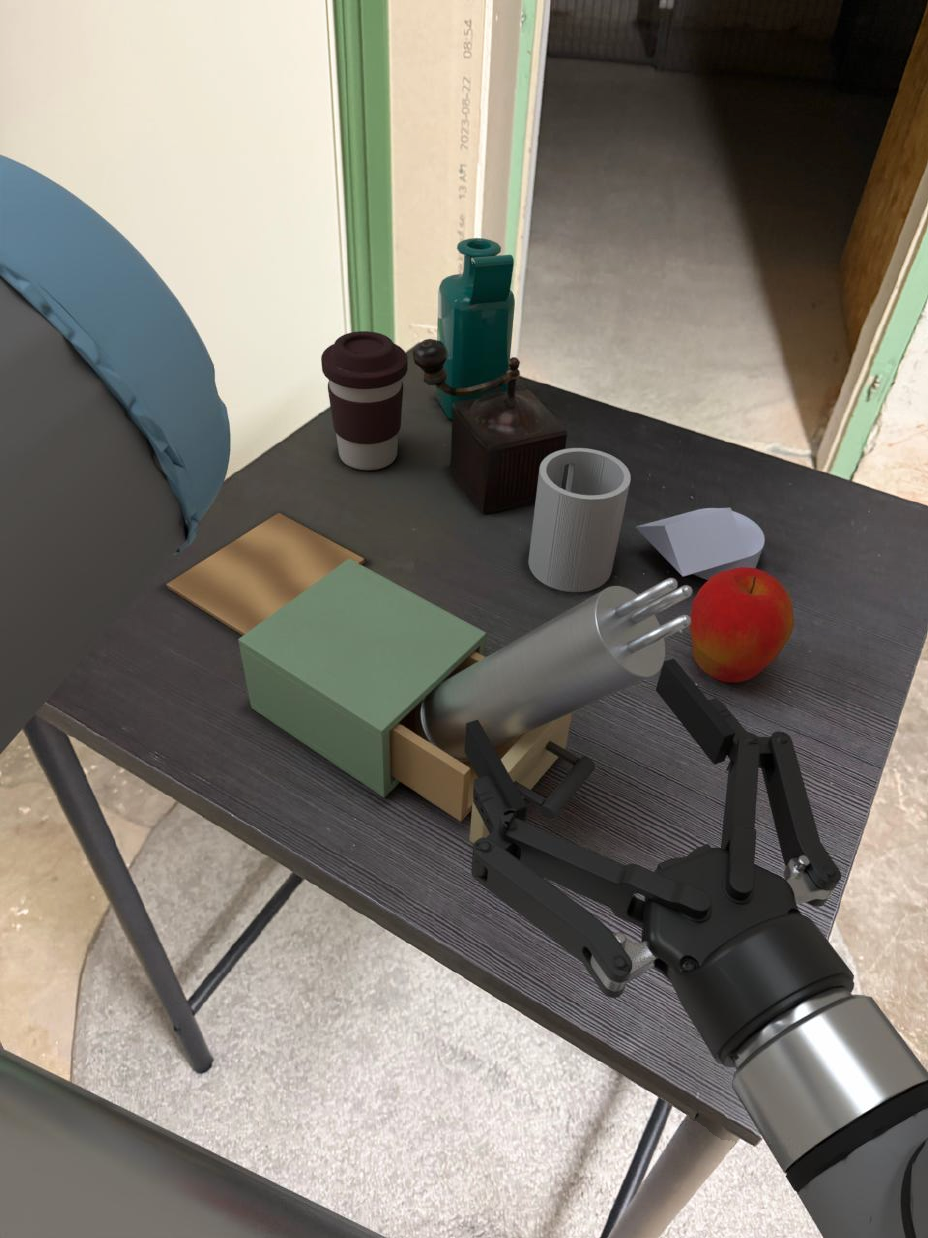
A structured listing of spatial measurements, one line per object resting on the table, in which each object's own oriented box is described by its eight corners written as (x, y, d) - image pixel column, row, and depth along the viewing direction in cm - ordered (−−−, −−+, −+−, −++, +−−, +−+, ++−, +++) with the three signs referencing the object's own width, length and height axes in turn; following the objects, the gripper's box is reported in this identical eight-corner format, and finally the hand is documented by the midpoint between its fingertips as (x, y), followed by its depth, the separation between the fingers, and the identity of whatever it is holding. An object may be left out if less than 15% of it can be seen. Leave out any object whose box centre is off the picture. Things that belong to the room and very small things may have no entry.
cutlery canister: (446, 780, 70) (697, 672, 52) (399, 709, 70) (633, 575, 52) (495, 737, 75) (739, 625, 57) (450, 670, 75) (681, 536, 57)
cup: (576, 604, 91) (593, 511, 82) (511, 563, 95) (521, 471, 87) (627, 565, 95) (648, 474, 87) (563, 528, 100) (577, 438, 92)
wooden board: (255, 644, 84) (254, 640, 84) (167, 588, 90) (166, 583, 89) (364, 562, 94) (364, 558, 94) (279, 516, 99) (278, 512, 99)
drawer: (607, 773, 74) (621, 721, 69) (525, 879, 66) (534, 828, 61) (433, 671, 81) (435, 618, 77) (342, 756, 74) (337, 702, 69)
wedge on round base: (676, 600, 92) (773, 570, 96) (690, 551, 87) (791, 521, 91) (629, 550, 97) (723, 524, 102) (640, 501, 93) (737, 476, 97)
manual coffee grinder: (520, 450, 111) (533, 315, 99) (561, 497, 104) (581, 358, 92) (407, 474, 106) (406, 335, 94) (442, 526, 99) (446, 382, 87)
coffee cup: (377, 426, 114) (374, 316, 104) (423, 460, 109) (425, 348, 98) (313, 450, 109) (303, 338, 99) (358, 487, 104) (352, 372, 94)
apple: (755, 719, 80) (795, 625, 72) (663, 681, 83) (690, 587, 75) (780, 657, 86) (820, 564, 78) (693, 624, 89) (722, 531, 81)
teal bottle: (432, 394, 121) (435, 231, 106) (489, 387, 123) (500, 226, 108) (453, 430, 114) (460, 262, 99) (513, 422, 116) (528, 256, 101)
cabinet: (481, 700, 80) (486, 632, 74) (384, 798, 72) (381, 731, 66) (353, 625, 87) (349, 557, 81) (251, 707, 79) (237, 639, 72)
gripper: (543, 1177, 38) (382, 802, 52) (959, 966, 46) (723, 689, 60) (562, 1121, 33) (378, 722, 47) (1027, 895, 41) (751, 609, 55)
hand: (571, 703), depth 54 cm, fingers open, 13 cm apart
